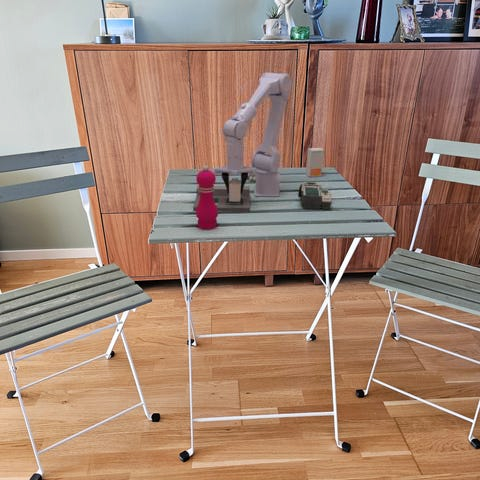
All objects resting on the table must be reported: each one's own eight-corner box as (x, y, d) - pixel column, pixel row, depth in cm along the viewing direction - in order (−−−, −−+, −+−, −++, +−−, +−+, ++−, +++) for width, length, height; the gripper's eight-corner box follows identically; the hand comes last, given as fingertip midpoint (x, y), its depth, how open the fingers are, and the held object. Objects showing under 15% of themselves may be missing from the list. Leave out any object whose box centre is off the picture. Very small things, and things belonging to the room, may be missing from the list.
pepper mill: (201, 231, 127) (199, 170, 118) (192, 223, 133) (190, 164, 124) (222, 227, 130) (221, 167, 121) (212, 219, 136) (211, 161, 127)
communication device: (326, 189, 165) (328, 168, 161) (331, 211, 144) (334, 187, 140) (296, 188, 166) (298, 167, 163) (297, 209, 145) (299, 186, 141)
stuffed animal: (239, 169, 169) (245, 157, 178) (240, 184, 173) (245, 171, 183) (265, 171, 167) (269, 158, 176) (264, 186, 172) (268, 173, 181)
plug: (240, 196, 149) (240, 178, 146) (240, 201, 144) (240, 182, 141) (229, 196, 149) (229, 178, 146) (229, 201, 144) (229, 182, 141)
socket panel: (249, 195, 156) (249, 185, 155) (249, 211, 142) (250, 200, 140) (197, 195, 157) (197, 184, 155) (193, 211, 142) (192, 199, 140)
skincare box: (308, 177, 178) (311, 150, 173) (305, 174, 182) (307, 148, 176) (321, 176, 179) (324, 149, 174) (317, 173, 183) (320, 147, 178)
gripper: (213, 158, 136) (214, 196, 142) (256, 159, 136) (255, 197, 142) (214, 153, 142) (215, 189, 148) (255, 153, 142) (254, 190, 148)
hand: (234, 192), depth 146 cm, fingers closed on plug, 4 cm apart
